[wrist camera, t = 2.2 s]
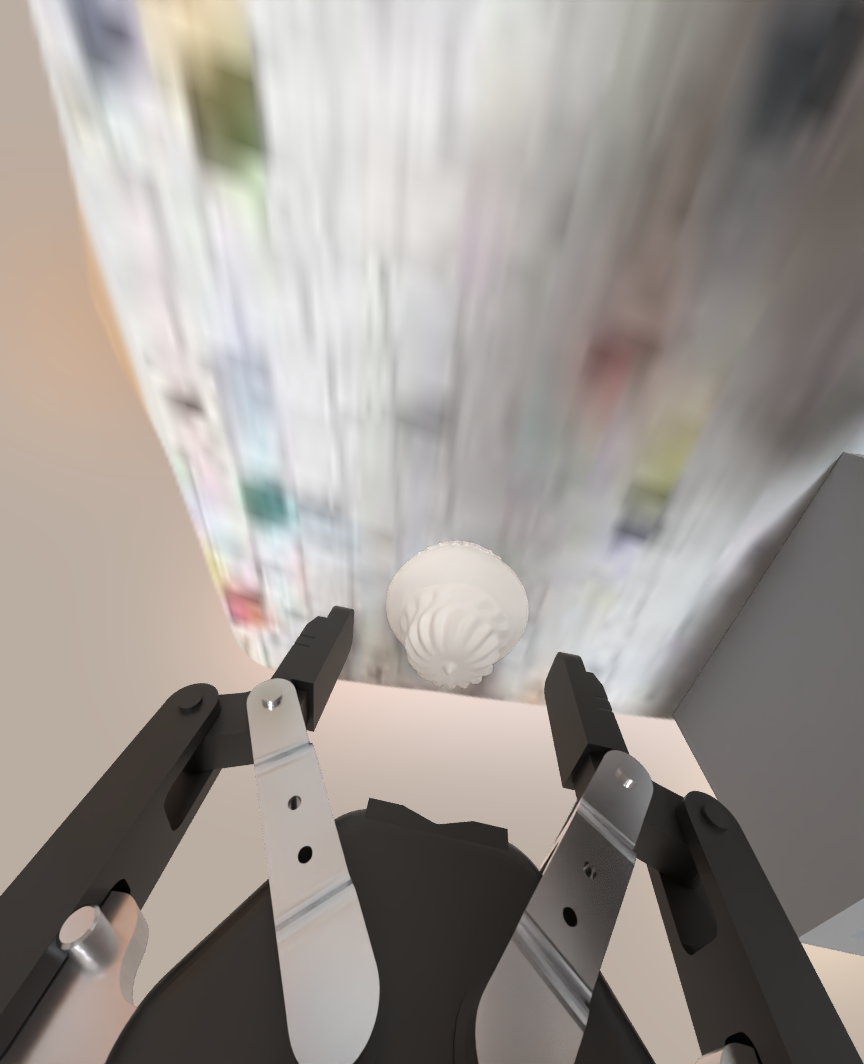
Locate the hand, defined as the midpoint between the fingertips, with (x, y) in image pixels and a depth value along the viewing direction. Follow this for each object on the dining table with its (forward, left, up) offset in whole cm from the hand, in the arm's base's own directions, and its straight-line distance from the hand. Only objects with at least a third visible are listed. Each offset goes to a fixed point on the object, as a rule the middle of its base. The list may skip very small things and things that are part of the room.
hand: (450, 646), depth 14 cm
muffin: (0, 0, -6) cm, 6 cm away
